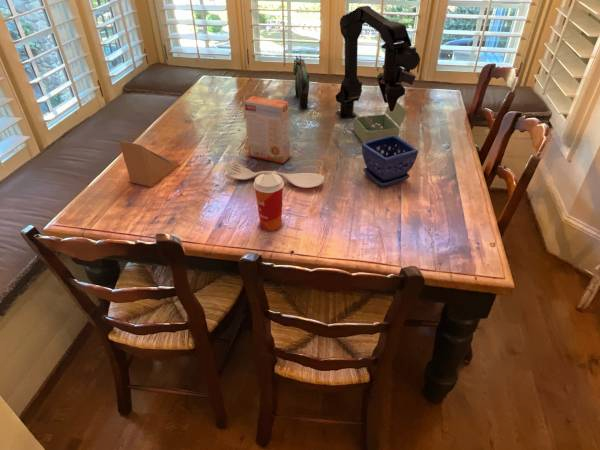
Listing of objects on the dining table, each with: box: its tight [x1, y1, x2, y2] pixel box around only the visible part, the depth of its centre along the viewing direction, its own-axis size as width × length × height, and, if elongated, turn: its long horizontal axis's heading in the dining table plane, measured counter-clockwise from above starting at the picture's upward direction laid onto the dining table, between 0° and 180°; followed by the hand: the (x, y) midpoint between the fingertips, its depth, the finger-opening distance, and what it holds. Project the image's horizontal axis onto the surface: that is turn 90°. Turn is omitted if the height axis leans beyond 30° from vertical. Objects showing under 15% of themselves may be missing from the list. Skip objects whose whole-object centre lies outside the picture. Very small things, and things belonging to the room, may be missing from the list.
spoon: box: [224, 162, 325, 189], centre depth 143 cm, size 9×32×4 cm, turn 79°
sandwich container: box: [119, 140, 179, 188], centre depth 144 cm, size 9×15×15 cm, turn 158°
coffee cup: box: [253, 173, 285, 232], centre depth 121 cm, size 8×8×15 cm
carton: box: [353, 113, 400, 143], centre depth 168 cm, size 14×13×6 cm
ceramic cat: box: [292, 55, 310, 111], centre depth 193 cm, size 20×6×20 cm, turn 6°
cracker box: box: [244, 95, 291, 164], centre depth 151 cm, size 14×6×21 cm, turn 65°
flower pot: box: [361, 135, 419, 188], centre depth 142 cm, size 13×13×12 cm
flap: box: [384, 101, 408, 128], centre depth 166 cm, size 14×6×1 cm
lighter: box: [365, 114, 383, 131], centre depth 167 cm, size 7×2×8 cm, turn 65°
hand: (388, 106), depth 161 cm, fingers open, 9 cm apart
